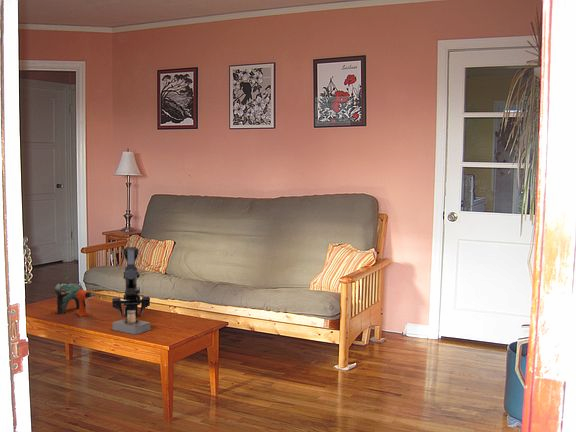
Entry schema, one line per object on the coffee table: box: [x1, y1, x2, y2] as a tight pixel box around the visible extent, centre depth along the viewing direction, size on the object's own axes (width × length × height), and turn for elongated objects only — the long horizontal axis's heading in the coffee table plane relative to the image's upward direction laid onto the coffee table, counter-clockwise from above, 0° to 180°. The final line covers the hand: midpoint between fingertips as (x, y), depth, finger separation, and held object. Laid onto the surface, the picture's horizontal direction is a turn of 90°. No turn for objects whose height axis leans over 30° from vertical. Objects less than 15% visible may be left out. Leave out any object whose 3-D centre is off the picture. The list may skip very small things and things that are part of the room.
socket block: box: [112, 317, 151, 335], centre depth 309 cm, size 10×16×4 cm, turn 59°
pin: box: [126, 310, 137, 324], centre depth 309 cm, size 4×4×10 cm
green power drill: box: [54, 276, 84, 315], centre depth 348 cm, size 20×6×20 cm, turn 155°
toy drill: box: [76, 289, 96, 318], centre depth 335 cm, size 5×19×15 cm, turn 47°
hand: (131, 316), depth 308 cm, fingers open, 9 cm apart
